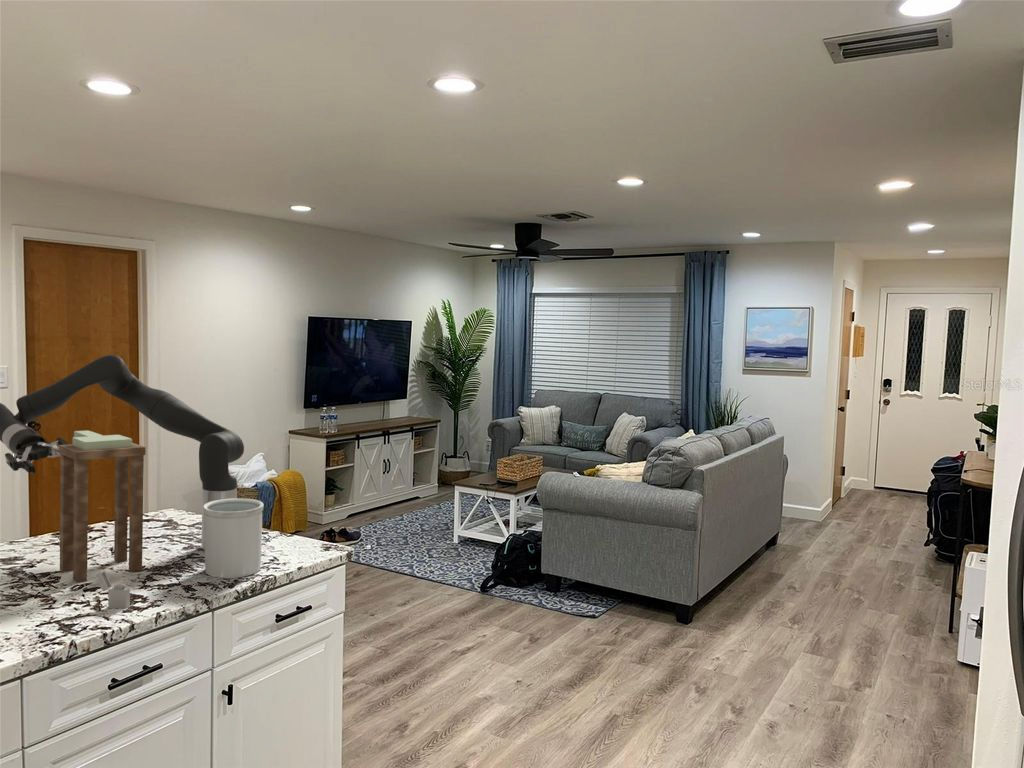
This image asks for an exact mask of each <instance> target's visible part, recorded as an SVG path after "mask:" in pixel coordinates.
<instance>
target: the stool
mask: <svg viewBox="0 0 1024 768" xmlns="http://www.w3.org/2000/svg"><path fill="white" fill-rule="evenodd" d="M146 449H147V447H146V446H144V445H140V444H137V443H134V442H132V447H123V448H110V449H96V450H83V449H80V448H78V447H75V446H73V443H69V444H67V445H59V450H58V453H60V454H61V456H60V462H59V463H60V467H59V468H60V472H59V473H60V477H59V479H60V483H59V486H60V487H59V496H60V497H59V498H60V499H59V571H61V573H66V572H67V573H68V572H72V581H73V582H75V583H81V582H82V583H83V582H86V581H88V549H89V547H88V542H89V541H88V538H89V537H88V534H89V533H88V532H89V531H88V529H89V526H88V525H89V523H88V522H89V521H88V520H89V519H88V518H89V517H88V516H89V460H98V459H101V460H102V459H111V458H115V459H114V462H115V464H114V474H115V475H114V535H113V536H114V541H113V542H114V545H113V546H114V547H113V548H114V549H113V550H114V551H113V553H114V554H113V561H114V562H116V563H122V562H123V563H124V562H128V570H129V571H130V572H132V573H133V572H139V571H143V547H144V546H143V541H144V540H143V539H144V538H143V536H144V535H143V532H144V531H143V527H144V526H143V525H144V519H143V518H144V475H145V474H144V466H145V465H144V464H145V461H144V460H145V459H144V458H145V457H144V456H146V453H147V452H146ZM128 513H129V514H128ZM128 515H129V517H128ZM128 518H129V519H128ZM128 522H129V523H128ZM128 524H129V525H128ZM128 526H129V528H128ZM128 532H129V534H128Z"/></svg>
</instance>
